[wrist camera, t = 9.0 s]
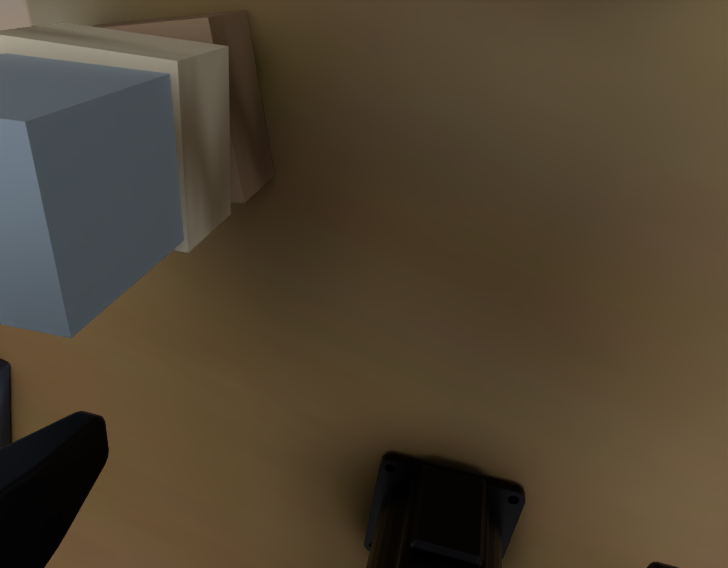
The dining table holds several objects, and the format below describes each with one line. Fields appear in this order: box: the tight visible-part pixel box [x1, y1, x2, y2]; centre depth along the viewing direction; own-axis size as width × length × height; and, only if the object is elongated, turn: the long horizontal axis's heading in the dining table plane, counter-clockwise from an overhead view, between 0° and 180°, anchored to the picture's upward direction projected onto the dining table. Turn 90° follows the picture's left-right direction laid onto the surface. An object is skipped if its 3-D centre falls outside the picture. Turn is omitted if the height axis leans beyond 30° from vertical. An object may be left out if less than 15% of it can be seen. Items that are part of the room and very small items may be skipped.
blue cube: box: [0, 53, 184, 338], centre depth 14 cm, size 4×4×5 cm
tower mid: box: [0, 22, 231, 253], centre depth 17 cm, size 5×5×3 cm
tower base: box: [92, 10, 274, 203], centre depth 20 cm, size 6×6×3 cm
